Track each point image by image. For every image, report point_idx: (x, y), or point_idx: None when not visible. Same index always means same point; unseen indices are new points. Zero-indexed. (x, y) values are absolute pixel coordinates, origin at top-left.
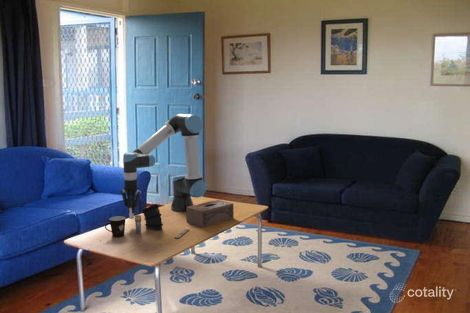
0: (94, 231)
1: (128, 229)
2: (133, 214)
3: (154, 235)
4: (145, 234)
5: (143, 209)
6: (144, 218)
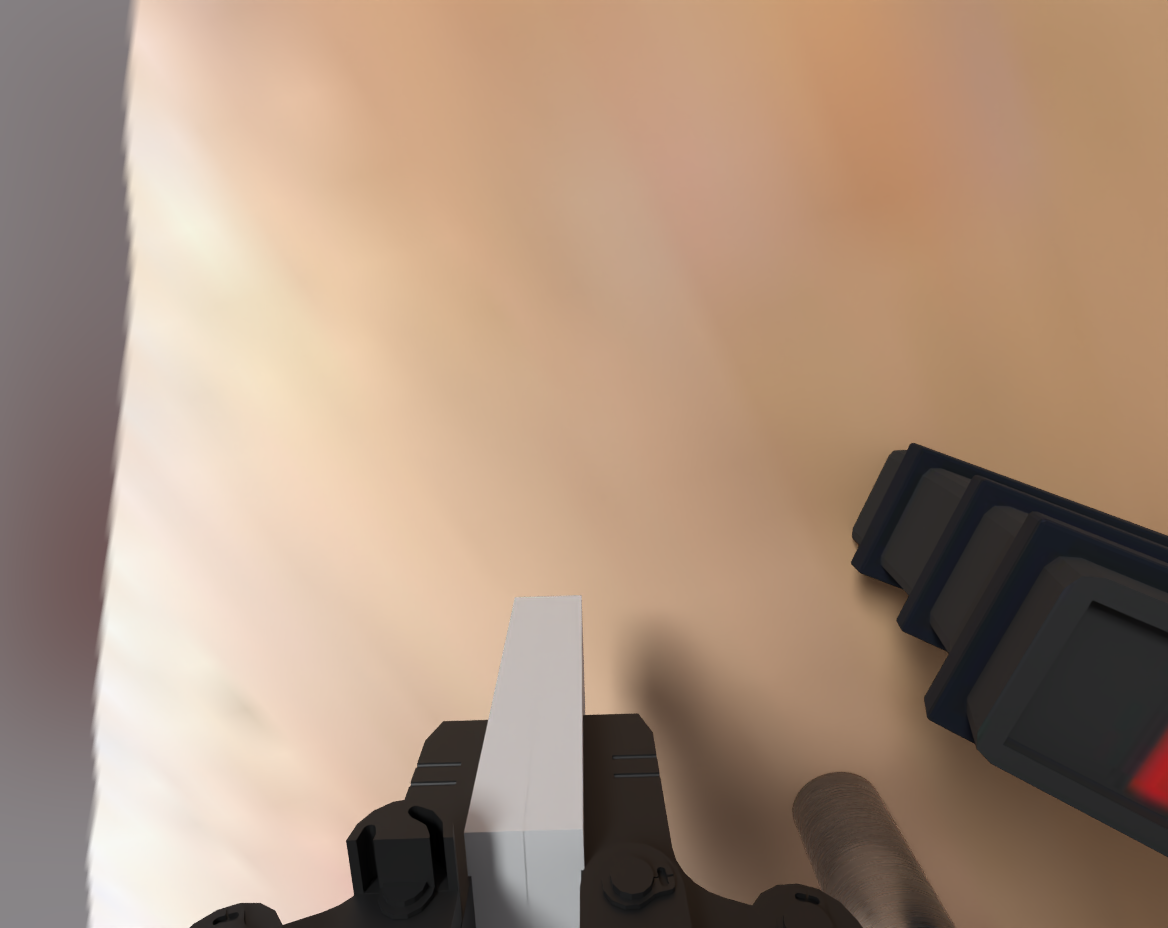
0: (105, 903)
1: None
2: (582, 666)
3: None
4: (975, 834)
5: (1063, 799)
6: (918, 635)
